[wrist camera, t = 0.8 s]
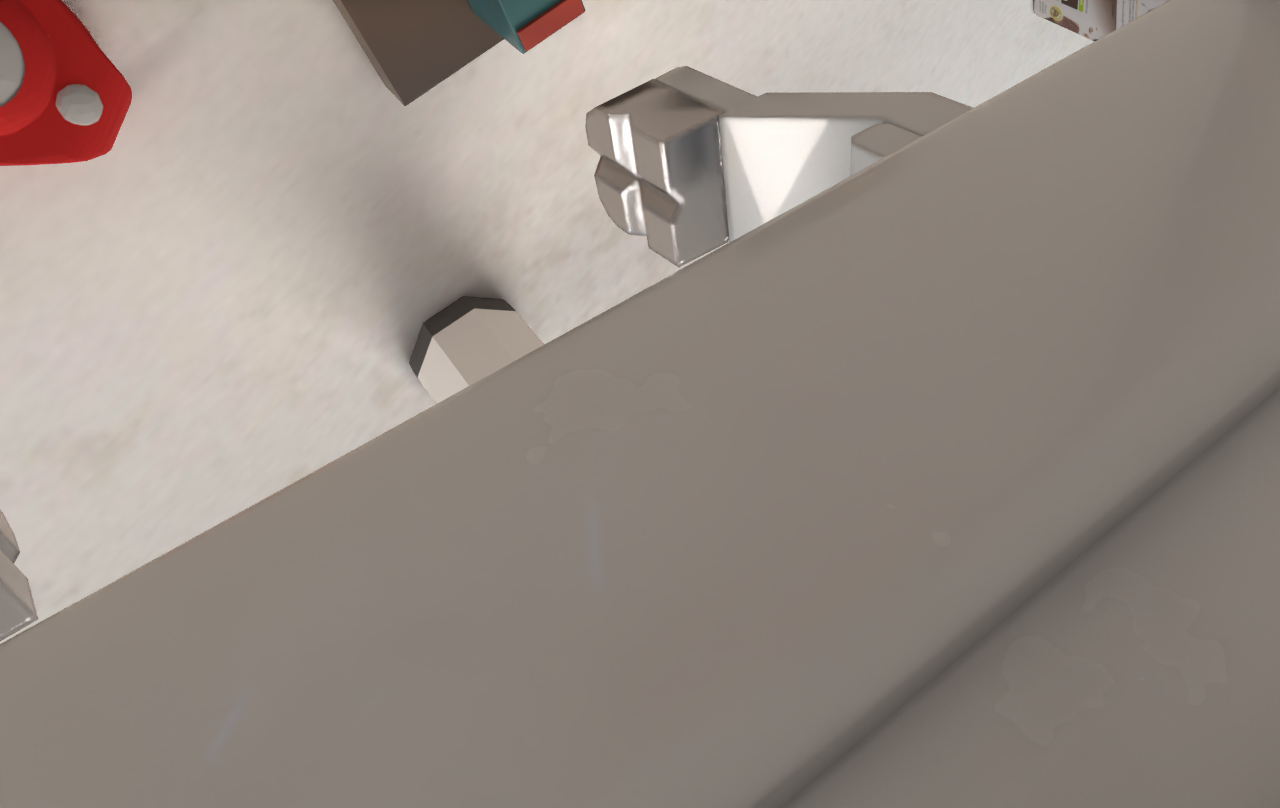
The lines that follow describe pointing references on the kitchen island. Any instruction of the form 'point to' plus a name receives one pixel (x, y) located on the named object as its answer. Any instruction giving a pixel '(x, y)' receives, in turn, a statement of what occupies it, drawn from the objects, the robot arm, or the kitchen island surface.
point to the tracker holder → (55, 87)
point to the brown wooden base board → (417, 40)
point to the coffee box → (1093, 14)
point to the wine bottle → (469, 345)
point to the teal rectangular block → (526, 18)
